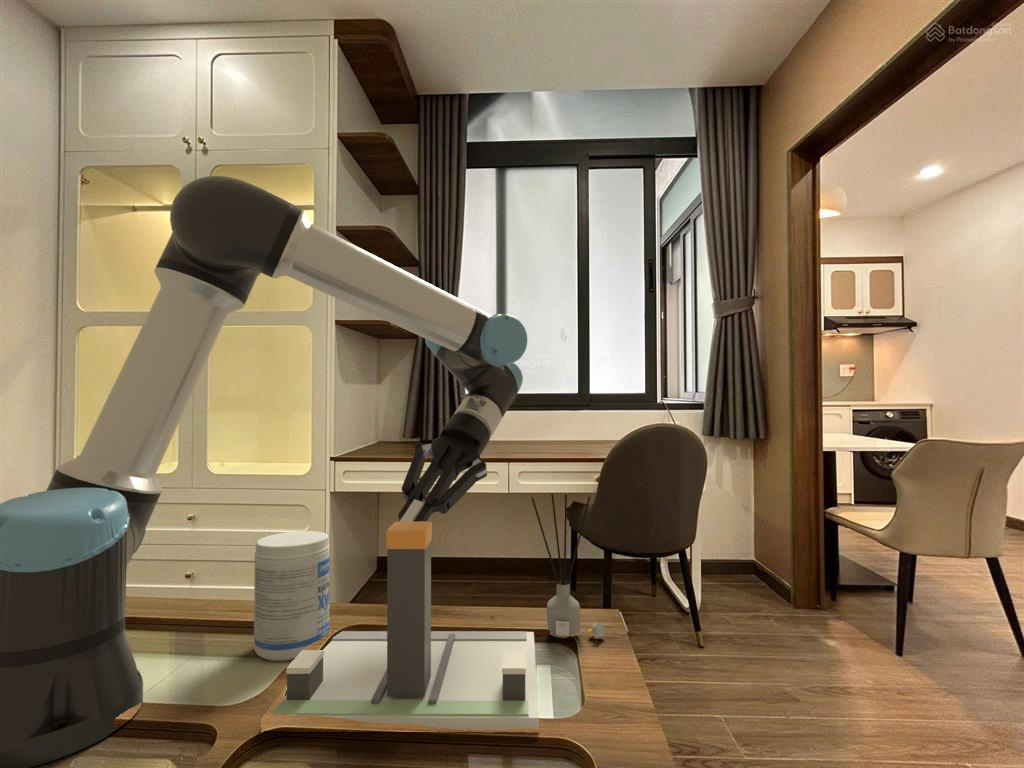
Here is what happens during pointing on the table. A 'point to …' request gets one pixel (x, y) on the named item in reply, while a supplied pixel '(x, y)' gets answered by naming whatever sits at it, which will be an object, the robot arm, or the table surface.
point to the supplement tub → (290, 593)
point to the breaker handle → (408, 608)
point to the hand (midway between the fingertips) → (396, 542)
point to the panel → (451, 691)
